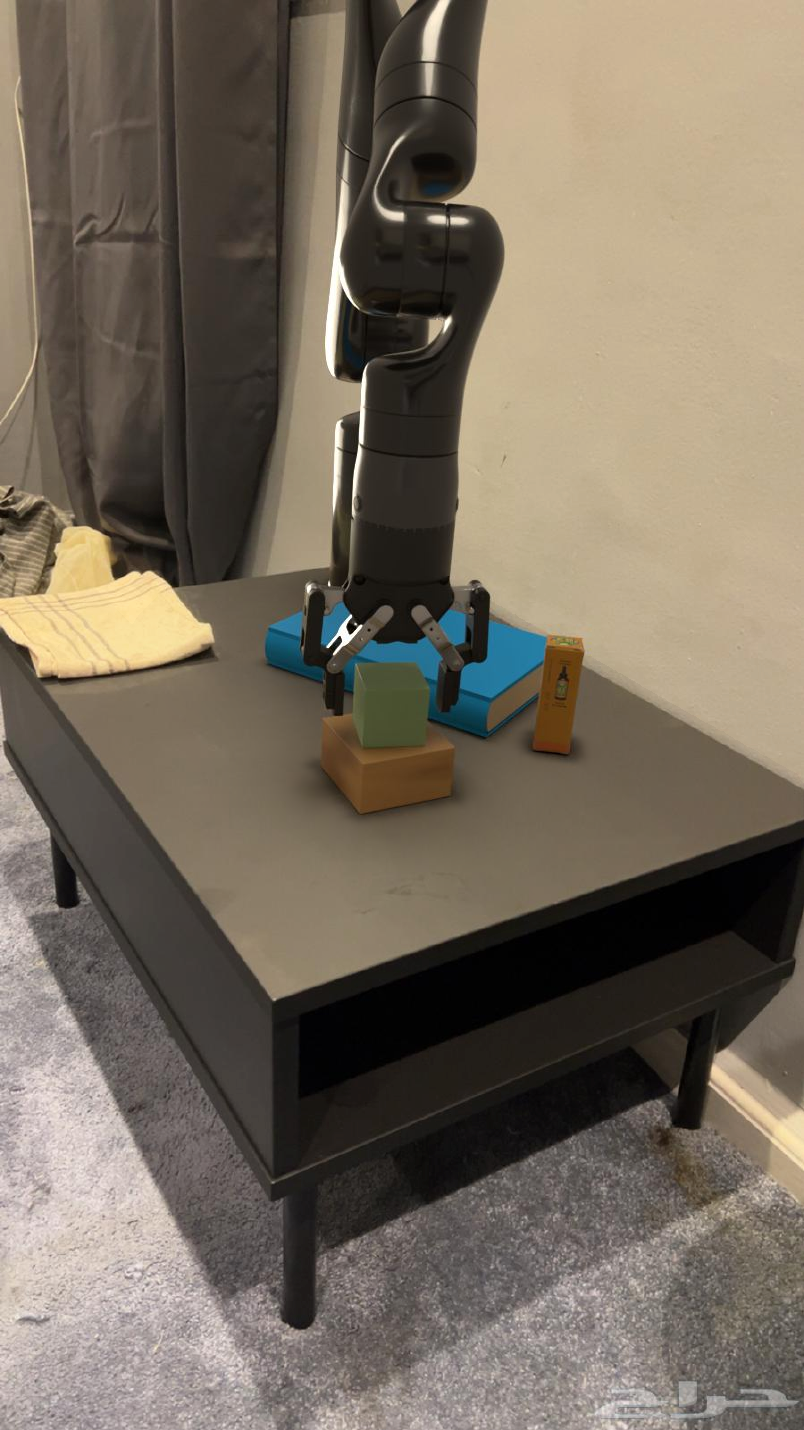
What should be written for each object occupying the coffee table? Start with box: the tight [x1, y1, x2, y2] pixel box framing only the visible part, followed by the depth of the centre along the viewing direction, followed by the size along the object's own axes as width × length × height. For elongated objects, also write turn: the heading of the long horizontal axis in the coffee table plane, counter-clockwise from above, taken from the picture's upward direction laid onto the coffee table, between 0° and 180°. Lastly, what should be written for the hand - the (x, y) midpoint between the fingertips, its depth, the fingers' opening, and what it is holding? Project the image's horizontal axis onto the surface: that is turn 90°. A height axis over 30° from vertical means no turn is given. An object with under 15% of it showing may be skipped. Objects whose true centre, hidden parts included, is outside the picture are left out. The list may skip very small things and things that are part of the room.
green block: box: [351, 662, 430, 748], centre depth 83 cm, size 5×5×5 cm
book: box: [264, 602, 547, 738], centre depth 105 cm, size 17×4×25 cm
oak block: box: [320, 712, 456, 815], centre depth 85 cm, size 8×8×4 cm
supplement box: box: [532, 634, 586, 755], centre depth 91 cm, size 3×4×10 cm
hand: (389, 710), depth 83 cm, fingers open, 8 cm apart
